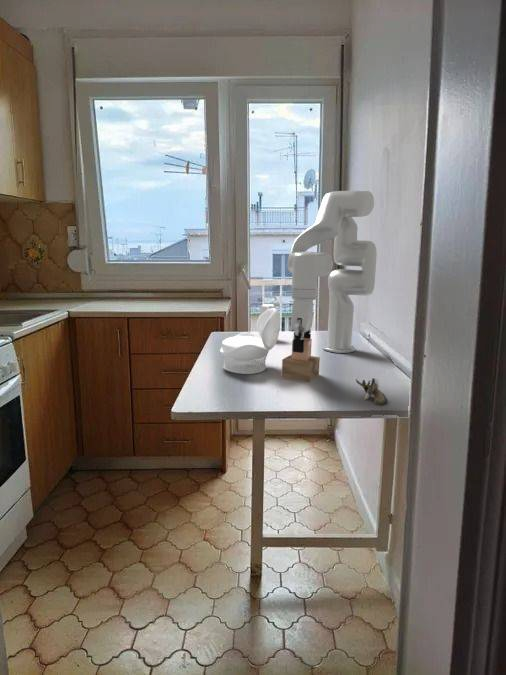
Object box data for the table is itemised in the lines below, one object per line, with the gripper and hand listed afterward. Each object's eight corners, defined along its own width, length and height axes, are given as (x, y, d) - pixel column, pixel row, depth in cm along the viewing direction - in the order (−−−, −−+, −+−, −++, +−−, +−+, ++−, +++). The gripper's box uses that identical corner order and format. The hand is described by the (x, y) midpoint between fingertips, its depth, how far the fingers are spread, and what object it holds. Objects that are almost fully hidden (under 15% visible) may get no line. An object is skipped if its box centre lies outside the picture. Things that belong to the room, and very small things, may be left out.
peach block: (295, 355, 143) (296, 337, 142) (310, 357, 141) (311, 338, 140) (291, 359, 138) (292, 340, 137) (307, 360, 137) (308, 341, 136)
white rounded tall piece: (275, 341, 190) (276, 306, 187) (259, 340, 190) (260, 306, 187) (274, 337, 197) (275, 304, 194) (259, 337, 197) (260, 303, 194)
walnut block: (292, 371, 147) (293, 353, 146) (318, 375, 143) (319, 357, 142) (281, 378, 139) (282, 359, 138) (308, 382, 135) (309, 363, 134)
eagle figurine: (348, 392, 123) (364, 396, 114) (360, 369, 124) (377, 372, 115) (369, 405, 125) (386, 411, 116) (381, 383, 126) (399, 387, 117)
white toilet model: (219, 360, 158) (220, 304, 154) (275, 359, 160) (276, 304, 156) (219, 376, 139) (220, 313, 135) (282, 376, 140) (284, 313, 136)
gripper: (298, 290, 145) (296, 342, 148) (284, 296, 129) (282, 353, 132) (321, 292, 143) (318, 344, 146) (310, 297, 127) (307, 356, 130)
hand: (301, 348), depth 139 cm, fingers open, 9 cm apart
